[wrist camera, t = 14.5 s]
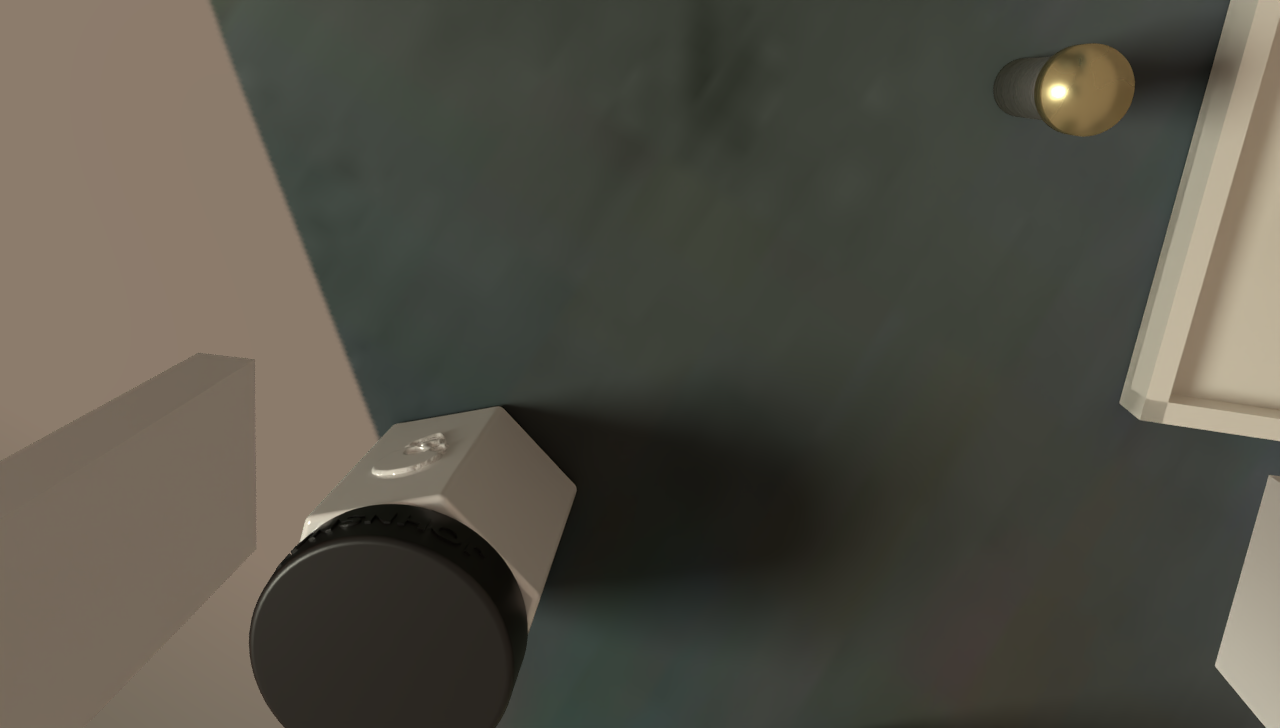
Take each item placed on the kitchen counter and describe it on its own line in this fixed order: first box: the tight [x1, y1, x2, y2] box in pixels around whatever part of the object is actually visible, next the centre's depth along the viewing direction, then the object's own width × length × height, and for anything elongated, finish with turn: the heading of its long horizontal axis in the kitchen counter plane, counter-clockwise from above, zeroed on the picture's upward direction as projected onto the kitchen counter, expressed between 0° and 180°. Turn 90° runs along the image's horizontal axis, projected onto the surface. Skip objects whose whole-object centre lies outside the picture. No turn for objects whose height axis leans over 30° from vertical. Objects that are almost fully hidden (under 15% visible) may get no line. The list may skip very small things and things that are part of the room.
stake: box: [993, 43, 1135, 136], centre depth 33 cm, size 3×3×7 cm
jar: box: [249, 406, 577, 728], centre depth 37 cm, size 9×8×12 cm
